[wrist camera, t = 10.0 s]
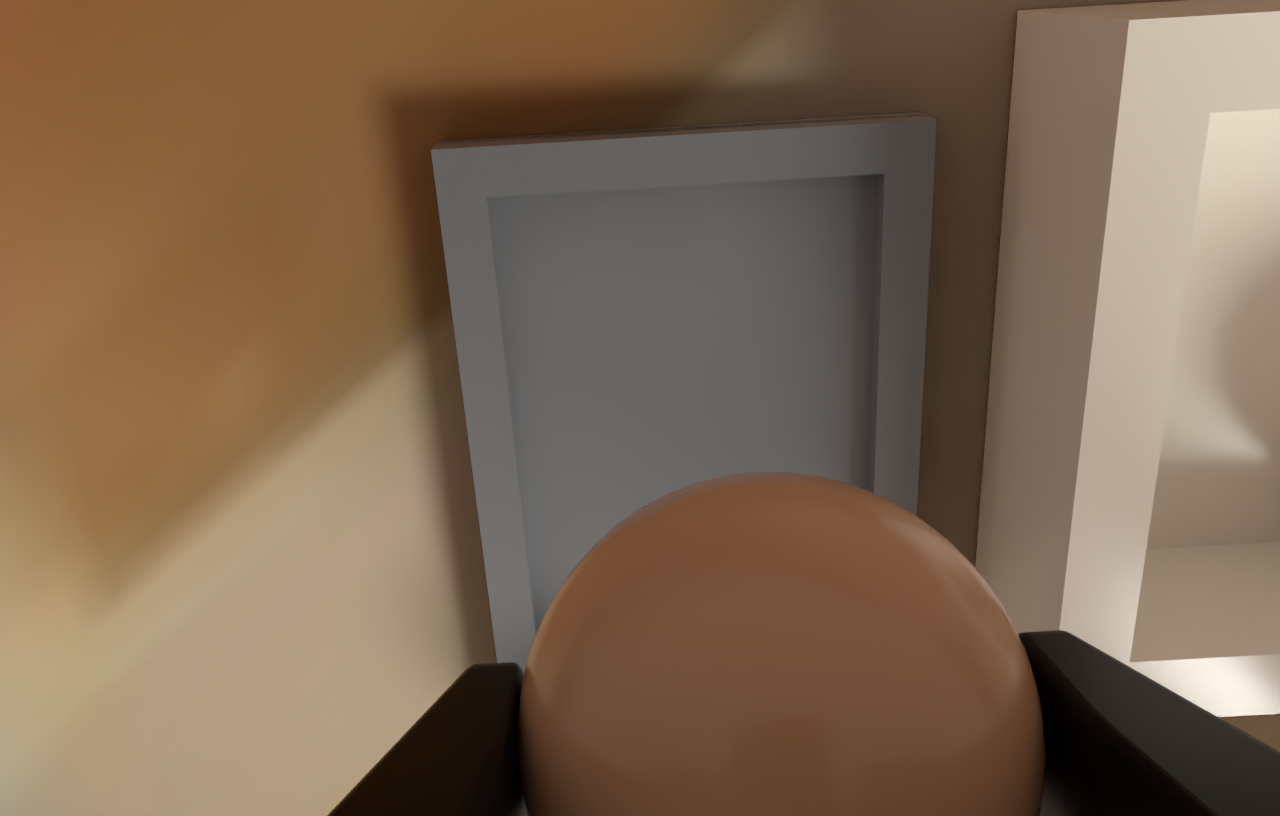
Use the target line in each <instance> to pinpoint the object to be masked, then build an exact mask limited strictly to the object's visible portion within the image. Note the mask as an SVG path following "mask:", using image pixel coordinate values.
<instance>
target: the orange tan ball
mask: <svg viewBox="0 0 1280 816" xmlns="http://www.w3.org/2000/svg"><path fill="white" fill-rule="evenodd" d="M517 748H518V763H519V775H520V781H521V787H522V792H523V797H524V802H525V806H526V811H527V815H528V816H1040V811H1041V805H1042V799H1043V792H1044V786H1045V770H1046V746H1045V729H1044V722H1043V714H1042V707H1041V701H1040V697H1039V693H1038V689H1037V685H1036V681H1035V678H1034V675H1033V671H1032V668H1031V665H1030V662H1029V659H1028V655H1027V652H1026V650H1025V648H1024V646H1023V644H1022V642H1021V640H1020V638H1019V636H1018V633H1017V631H1016V629H1015V627H1014V625H1013V623H1012V621H1011V619H1010V618H1009V616H1008V614H1007V612H1006V610H1005V608H1004V606H1003V604H1002V603H1001V601H1000V600H999V599H998V597H997V596H996V595H995V593H994V592H993V590H992V589H991V588H990V586H989V585H988V584H987V582H986V581H985V580H984V578H983V577H982V576H981V574H980V573H979V572H978V570H977V569H976V568H975V566H974V565H973V564H972V563H971V562H970V561H969V560H968V559H967V558H966V557H965V556H964V555H963V554H962V553H961V552H960V551H959V550H958V549H957V548H956V547H955V546H954V545H953V544H952V543H951V542H950V541H949V540H947V539H946V538H945V537H944V536H943V535H941V534H940V533H939V532H938V531H936V530H935V529H934V528H932V527H931V526H930V525H928V524H927V523H926V522H924V521H923V520H922V519H920V518H919V517H918V516H916V515H915V514H913V513H912V512H910V511H908V510H906V509H904V508H902V507H901V506H899V505H897V504H895V503H893V502H892V501H890V500H888V499H886V498H884V497H881V496H879V495H877V494H875V493H872V492H870V491H867V490H865V489H862V488H859V487H857V486H854V485H852V484H849V483H846V482H842V481H838V480H834V479H830V478H826V477H822V476H816V475H808V474H799V473H791V472H753V473H745V474H736V475H728V476H723V477H719V478H715V479H710V480H706V481H702V482H698V483H696V484H693V485H690V486H688V487H685V488H682V489H679V490H677V491H674V492H671V493H669V494H667V495H665V496H663V497H661V498H659V499H657V500H655V501H653V502H651V503H649V504H647V505H645V506H643V507H641V508H640V509H639V510H637V511H636V512H634V513H633V514H631V515H630V516H628V517H627V518H625V519H624V520H622V521H621V522H619V523H618V524H617V525H616V526H614V527H613V528H612V529H611V530H610V531H609V532H608V533H607V534H605V535H604V536H603V537H602V538H601V539H600V540H599V541H597V542H596V543H595V545H594V546H593V547H592V548H591V549H590V550H589V551H588V552H587V553H586V555H585V556H584V557H583V558H582V559H581V560H580V562H579V563H578V564H577V565H576V566H575V567H574V568H573V570H572V571H571V572H570V573H569V574H568V576H567V577H566V579H565V580H564V582H563V583H562V585H561V587H560V588H559V590H558V591H557V593H556V594H555V596H554V597H553V599H552V601H551V603H550V605H549V607H548V609H547V611H546V613H545V615H544V617H543V620H542V622H541V624H540V626H539V628H538V631H537V633H536V635H535V637H534V639H533V642H532V646H531V649H530V653H529V656H528V660H527V664H526V667H525V671H524V675H523V679H522V684H521V689H520V697H519V706H518V723H517Z"/></svg>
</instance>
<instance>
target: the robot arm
mask: <svg viewBox="0 0 1280 816" xmlns="http://www.w3.org/2000/svg"><path fill="white" fill-rule="evenodd" d="M1018 636H1019V638H1020V640H1021V642H1022V644H1023V646H1024V648H1025V650H1026V652H1027V655H1028V659H1029V662H1030V665H1031V668H1032V671H1033V675H1034V678H1035V681H1036V685H1037V689H1038V693H1039V697H1040V701H1041V707H1042V714H1043V722H1044V729H1045V746H1046V770H1045V786H1044V792H1043V799H1042V805H1041V811H1040V816H1280V752H1278V751H1276V750H1275V749H1273V748H1271V747H1269V746H1268V745H1266V744H1264V743H1262V742H1261V741H1259V740H1257V739H1255V738H1254V737H1252V736H1250V735H1248V734H1247V733H1245V732H1243V731H1241V730H1240V729H1238V728H1236V727H1234V726H1233V725H1231V724H1229V723H1227V722H1226V721H1224V720H1222V719H1220V718H1219V717H1217V716H1215V715H1213V714H1212V713H1210V712H1208V711H1206V710H1205V709H1203V708H1201V707H1199V706H1198V705H1196V704H1194V703H1192V702H1191V701H1189V700H1187V699H1185V698H1184V697H1182V696H1180V695H1178V694H1176V693H1175V692H1173V691H1171V690H1169V689H1168V688H1166V687H1164V686H1162V685H1161V684H1159V683H1157V682H1155V681H1154V680H1152V679H1150V678H1148V677H1147V676H1145V675H1143V674H1141V673H1140V672H1138V671H1136V670H1134V669H1133V668H1131V667H1129V666H1127V665H1126V664H1124V663H1122V662H1120V661H1119V660H1117V659H1115V658H1113V657H1112V656H1110V655H1108V654H1106V653H1105V652H1103V651H1101V650H1099V649H1098V648H1096V647H1094V646H1092V645H1091V644H1089V643H1087V642H1085V641H1084V640H1082V639H1080V638H1078V637H1077V636H1075V635H1073V634H1071V633H1069V632H1067V631H1063V630H1053V631H1037V632H1022V633H1019V634H1018ZM522 679H523V672H522V669H521V667H520V666H519V664H517V663H515V662H505V663H487V664H475V665H472V666H470V667H469V668H467V669H466V670H465V671H464V672H463V673H462V674H461V675H460V676H459V678H458V679H457V680H456V681H455V682H454V683H453V684H452V685H451V686H450V687H449V688H448V689H447V690H446V691H445V692H444V693H443V694H442V695H441V696H440V698H439V699H438V700H437V701H436V702H435V703H434V704H433V705H432V706H431V707H430V708H429V709H428V710H427V711H426V712H425V713H424V714H423V715H422V716H421V718H420V719H419V720H418V721H417V722H416V723H415V724H414V725H413V726H412V727H411V728H410V729H409V730H408V731H407V732H406V733H405V734H404V735H403V736H402V738H401V739H400V740H399V741H398V742H397V743H396V744H395V745H394V746H393V747H392V748H391V749H390V750H389V751H388V752H387V753H386V754H385V755H384V757H383V758H382V759H381V760H380V761H379V762H378V763H377V764H376V765H375V766H374V767H373V768H372V769H371V770H370V771H369V772H368V773H367V774H366V775H365V777H364V778H363V779H362V780H361V781H360V782H359V783H358V784H357V785H356V786H355V787H354V788H353V789H352V790H351V791H350V792H349V793H348V794H347V795H346V797H345V798H344V799H343V800H342V801H341V802H340V803H339V804H338V805H337V806H336V807H335V808H334V809H333V810H332V811H331V812H330V813H329V814H328V815H327V816H528V815H527V811H526V806H525V802H524V797H523V792H522V787H521V781H520V775H519V763H518V748H517V723H518V706H519V697H520V689H521V684H522Z"/></svg>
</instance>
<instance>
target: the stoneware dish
mask: <svg viewBox="0 0 1280 816" xmlns="http://www.w3.org/2000/svg"><path fill="white" fill-rule="evenodd" d="M975 568H976V569H977V570H978V572H979V573H980V574H981V576H982V577H983V578H984V580H985V581H986V582H987V584H988V585H989V586H990V588H991V589H992V590H993V592H994V593H995V595H996V596H997V597H998V599H999V600H1000V601H1001V603H1002V604H1003V606H1004V608H1005V610H1006V612H1007V614H1008V616H1009V618H1010V619H1011V621H1012V623H1013V625H1014V627H1015V629H1016V631H1017V633H1018V634H1019V633H1022V632H1037V631H1053V630H1063V631H1067V632H1069V633H1071V634H1073V635H1075V636H1077V637H1078V638H1080V639H1082V640H1084V641H1085V642H1087V643H1089V644H1091V645H1092V646H1094V647H1096V648H1098V649H1099V650H1101V651H1103V652H1105V653H1106V654H1108V655H1110V656H1112V657H1113V658H1115V659H1117V660H1119V661H1120V662H1122V663H1124V664H1126V665H1127V666H1129V667H1131V668H1133V669H1134V670H1136V671H1138V672H1140V673H1141V674H1143V675H1145V676H1147V677H1148V678H1150V679H1152V680H1154V681H1155V682H1157V683H1159V684H1161V685H1162V686H1164V687H1166V688H1168V689H1169V690H1171V691H1173V692H1175V693H1176V694H1178V695H1180V696H1182V697H1184V698H1185V699H1187V700H1189V701H1191V702H1192V703H1194V704H1196V705H1198V706H1199V707H1201V708H1203V709H1205V710H1206V711H1208V712H1210V713H1212V714H1213V715H1215V716H1217V717H1230V716H1247V715H1265V714H1280V0H1181V1H1165V2H1148V3H1131V4H1115V5H1098V6H1082V7H1065V8H1048V9H1032V10H1018V14H1017V27H1016V40H1015V53H1014V66H1013V79H1012V93H1011V106H1010V119H1009V132H1008V145H1007V158H1006V171H1005V184H1004V197H1003V211H1002V224H1001V237H1000V250H999V263H998V276H997V289H996V302H995V315H994V329H993V342H992V355H991V368H990V381H989V394H988V407H987V420H986V433H985V446H984V460H983V473H982V486H981V499H980V512H979V525H978V538H977V551H976V564H975Z"/></svg>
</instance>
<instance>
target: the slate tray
mask: <svg viewBox="0 0 1280 816" xmlns="http://www.w3.org/2000/svg"><path fill="white" fill-rule="evenodd" d="M936 130H937V119H935V118H932V117H930V116H928V115H926V114H924V113H921V112H911V113H895V114H878V115H861V116H844V117H827V118H811V119H794V120H777V121H760V122H744V123H727V124H710V125H693V126H677V127H660V128H643V129H626V130H609V131H593V132H576V133H559V134H542V135H526V136H509V137H492V138H475V139H459V140H442V141H440V142H439V143H438V144H436V145H435V146H434V147H433V148H432V149H431V156H432V164H433V171H434V179H435V187H436V195H437V202H438V210H439V218H440V225H441V233H442V241H443V249H444V256H445V264H446V272H447V279H448V287H449V295H450V303H451V310H452V318H453V326H454V334H455V341H456V349H457V357H458V364H459V372H460V380H461V388H462V395H463V403H464V411H465V418H466V426H467V434H468V442H469V449H470V457H471V465H472V472H473V480H474V488H475V496H476V503H477V511H478V519H479V526H480V534H481V542H482V550H483V557H484V565H485V573H486V581H487V588H488V596H489V604H490V611H491V619H492V627H493V635H494V642H495V650H496V658H497V663H505V662H515V663H517V664H519V666H520V667H521V669H522V672H523V675H524V671H525V667H526V664H527V660H528V656H529V653H530V649H531V646H532V642H533V639H534V637H535V635H536V633H537V631H538V628H539V626H540V624H541V622H542V620H543V617H544V615H545V613H546V611H547V609H548V607H549V605H550V603H551V601H552V599H553V597H554V596H555V594H556V593H557V591H558V590H559V588H560V587H561V585H562V583H563V582H564V580H565V579H566V577H567V576H568V574H569V573H570V572H571V571H572V570H573V568H574V567H575V566H576V565H577V564H578V563H579V562H580V560H581V559H582V558H583V557H584V556H585V555H586V553H587V552H588V551H589V550H590V549H591V548H592V547H593V546H594V545H595V543H596V542H597V541H599V540H600V539H601V538H602V537H603V536H604V535H605V534H607V533H608V532H609V531H610V530H611V529H612V528H613V527H614V526H616V525H617V524H618V523H619V522H621V521H622V520H624V519H625V518H627V517H628V516H630V515H631V514H633V513H634V512H636V511H637V510H639V509H640V508H641V507H643V506H645V505H647V504H649V503H651V502H653V501H655V500H657V499H659V498H661V497H663V496H665V495H667V494H669V493H671V492H674V491H677V490H679V489H682V488H685V487H688V486H690V485H693V484H696V483H698V482H702V481H706V480H710V479H715V478H719V477H723V476H728V475H736V474H745V473H753V472H791V473H799V474H808V475H816V476H822V477H826V478H830V479H834V480H838V481H842V482H846V483H849V484H852V485H854V486H857V487H859V488H862V489H865V490H867V491H870V492H872V493H875V494H877V495H879V496H881V497H884V498H886V499H888V500H890V501H892V502H893V503H895V504H897V505H899V506H901V507H902V508H904V509H906V510H908V511H910V512H912V513H913V514H915V515H916V516H917V505H918V485H919V465H920V446H921V426H922V406H923V386H924V367H925V347H926V327H927V308H928V288H929V268H930V248H931V229H932V209H933V189H934V170H935V150H936Z"/></svg>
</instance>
